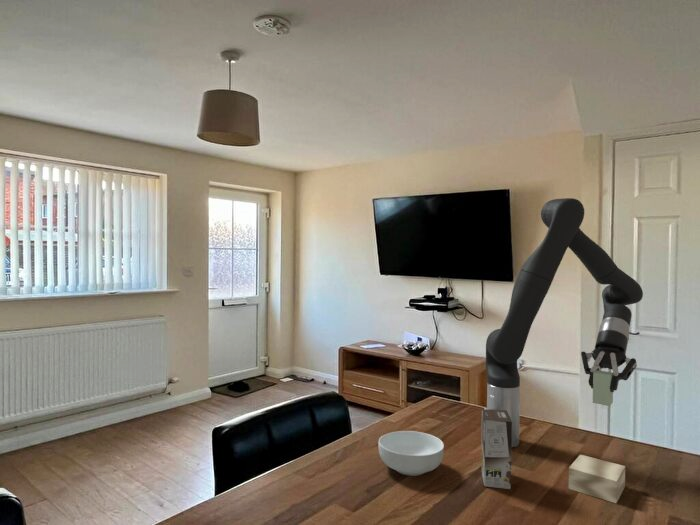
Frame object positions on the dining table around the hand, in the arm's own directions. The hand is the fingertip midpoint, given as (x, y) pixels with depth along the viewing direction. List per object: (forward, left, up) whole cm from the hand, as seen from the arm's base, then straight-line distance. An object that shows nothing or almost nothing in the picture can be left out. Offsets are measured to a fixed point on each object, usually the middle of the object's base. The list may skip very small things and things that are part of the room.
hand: (601, 388), depth 122 cm
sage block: (0, +1, -4) cm, 4 cm away
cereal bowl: (-37, -35, -21) cm, 55 cm away
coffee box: (-18, -26, -21) cm, 38 cm away
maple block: (+2, -14, -21) cm, 25 cm away
